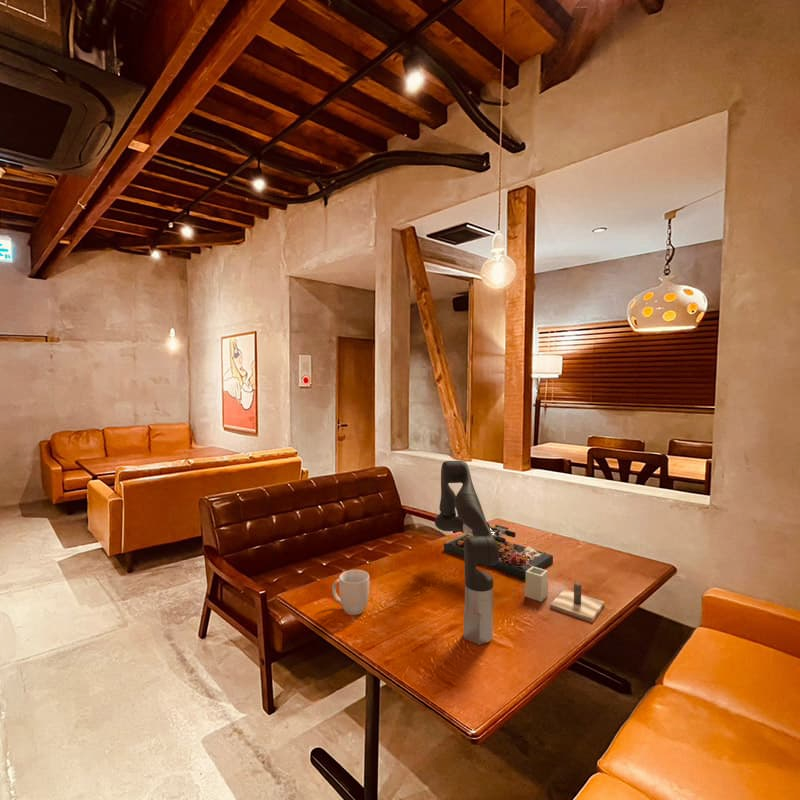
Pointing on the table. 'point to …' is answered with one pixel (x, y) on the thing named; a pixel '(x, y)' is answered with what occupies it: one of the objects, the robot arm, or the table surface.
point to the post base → (577, 604)
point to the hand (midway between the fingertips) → (510, 538)
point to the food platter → (507, 557)
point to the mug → (352, 591)
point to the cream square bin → (536, 584)
